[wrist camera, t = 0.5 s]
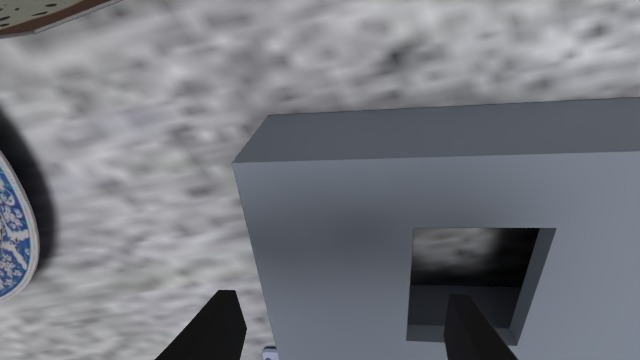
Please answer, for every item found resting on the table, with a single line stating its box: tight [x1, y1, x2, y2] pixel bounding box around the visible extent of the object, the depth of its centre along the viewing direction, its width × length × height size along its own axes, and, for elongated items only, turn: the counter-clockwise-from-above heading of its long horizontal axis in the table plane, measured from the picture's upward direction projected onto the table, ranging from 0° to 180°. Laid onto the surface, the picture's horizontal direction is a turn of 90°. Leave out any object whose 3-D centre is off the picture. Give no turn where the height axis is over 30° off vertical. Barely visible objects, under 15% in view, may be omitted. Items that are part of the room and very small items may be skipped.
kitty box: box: [232, 97, 640, 360], centre depth 18 cm, size 14×20×6 cm
